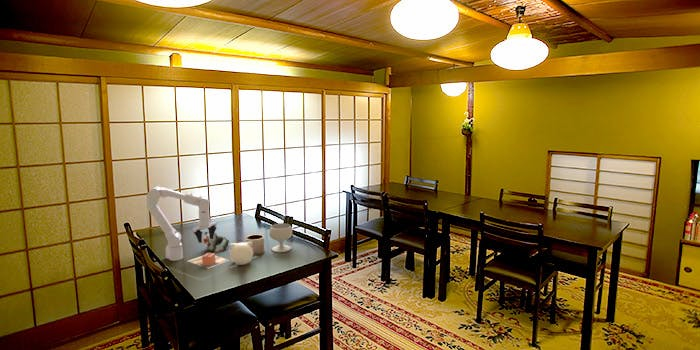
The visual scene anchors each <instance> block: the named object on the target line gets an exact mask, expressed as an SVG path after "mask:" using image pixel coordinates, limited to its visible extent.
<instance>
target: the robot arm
mask: <svg viewBox="0 0 700 350" xmlns="http://www.w3.org/2000/svg"><path fill="white" fill-rule="evenodd" d="M166 197H170V198H174V199H179V200H182V201H183V203H184V204H187V205H188V204H189V205H192V206H195V207H198V220H199V222H198V224H199V225H197V226H195V227H193V228H192V232H193V234H194V235H195V237H196V238H197V241H198V243H199V244H201V243H203V231H202V230H205V229H207V230H208V233H209V236H210V239H213V236H214V233H216V230H217V222H215V221H214V222H211V221H210V219H211V218H210V206H209V203H210V202H209V199H208V197H206V196H202V195H196V194H194V193H193V192H188V193H187V192H186V193H185V194H184V193H182V192H179V191H176V190H173V189H170V188H167V187H164V186H159V185H154V186H153V187H151V188H150V190H149V191H148V192H147V194H146V208H147V210H148V212H149V213H150V214H151V216H152V217H153V218H154V220H155V221H156V223H157V224H158V226H159V227H160V228H161V230H162V231H163V233H164V235H165V238H166V240H167V245H166V247H165V259H167V260H169V261H172V262H175V261H181V260H182V259H183V258H184V252H183V243H182V242H181V240H182V234H181V233H180V232H179V231H177V230H176V229H175V228H174V227H173V226H172V224H171V223H170V221H169V220H168V218H167V217H166V215H165V214H164V212H163V211H162V210H161V208H160V206H159V205H158V203H159V200H160V198H161V199H163V198H166Z"/></svg>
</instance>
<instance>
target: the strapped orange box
mask: <svg viewBox="0 0 700 350" xmlns="http://www.w3.org/2000/svg"><path fill="white" fill-rule="evenodd" d="M201 256H202V262H203V265H213V264H214V263H215V256H216V252H213V253H212V252H211V253H208V252H205V254H203V255H201Z"/></svg>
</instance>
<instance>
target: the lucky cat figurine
mask: <svg viewBox="0 0 700 350" xmlns="http://www.w3.org/2000/svg"><path fill="white" fill-rule="evenodd" d="M203 237H204V238H202V243H203V245H204V247H205V248H206V249H208V250H209V251H210V252H213V253H222V252H224V251H228V249H229V243H230V239H227V238H226V237H225V236H223V235H219V236H218V235H217V233H216V232H215V233H214V236H213V239H210V236H209V231H205V232H204V236H203Z"/></svg>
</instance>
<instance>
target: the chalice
mask: <svg viewBox="0 0 700 350" xmlns="http://www.w3.org/2000/svg"><path fill="white" fill-rule="evenodd" d="M268 232H269V234H268V235H269V237H270V238H271V239H272V240H275V241H277V242H278V243H279V245H275V246H273V247H272V248H271V249H270V250H271V251H272V252H274V253H285V252H289V251H291V250H292V247H291V246H290V245H286V244H284V242H285V241H287V240H288V239H290V238H291V237H292V236H293V228H292V226H291V224H289V223H286V222H285V223H284V222H282V223H281V222H280V223H275V224H272V225H271V226H270V228H269V231H268Z"/></svg>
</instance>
